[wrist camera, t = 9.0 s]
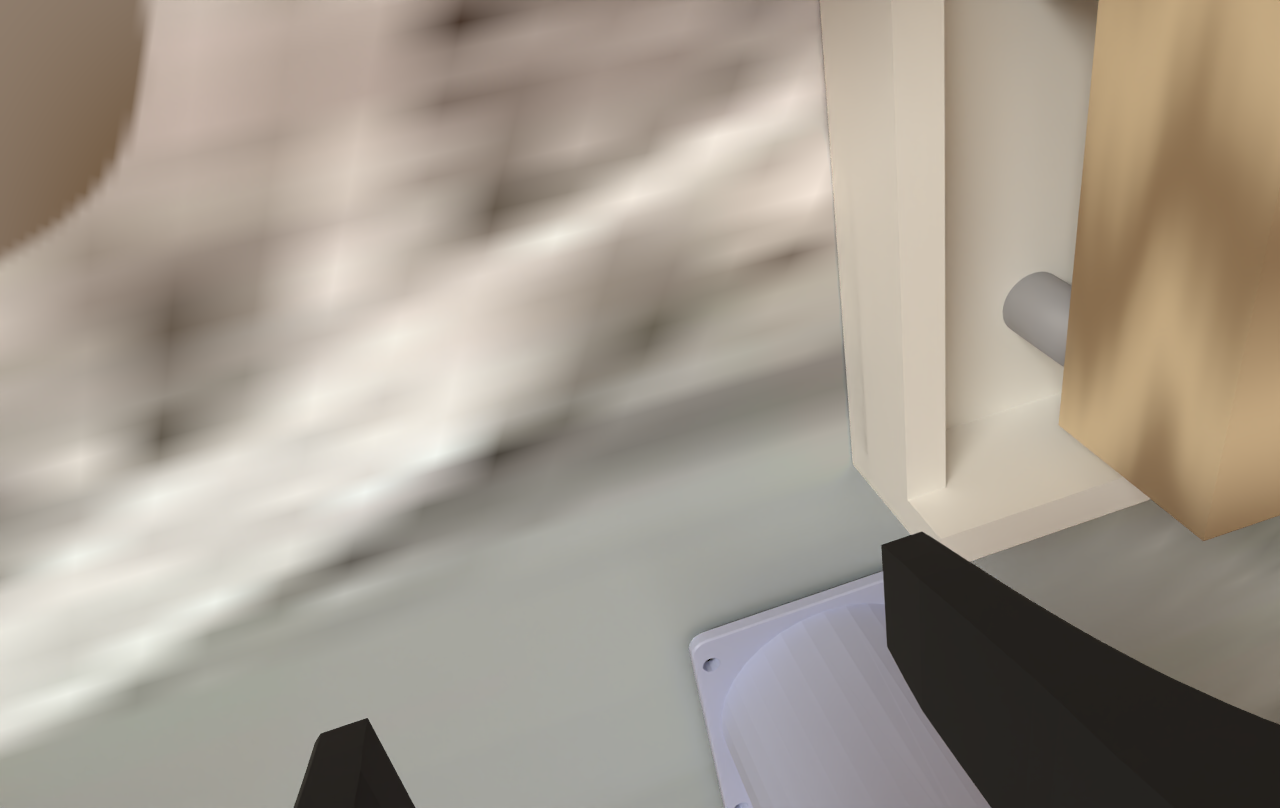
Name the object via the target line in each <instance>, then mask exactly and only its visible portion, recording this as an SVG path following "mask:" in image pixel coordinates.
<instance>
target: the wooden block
mask: <svg viewBox="0 0 1280 808" xmlns="http://www.w3.org/2000/svg"><path fill="white" fill-rule="evenodd" d="M1059 426H1060V427H1062V428H1063V429H1064V430H1065V431H1067V432H1068V433H1069V434H1070V435H1072V436H1073V437H1074V438H1075V439H1077V440H1078V441H1079V442H1080V443H1082V444H1083V445H1084V446H1085V447H1087V448H1088V449H1089V450H1090V451H1092V452H1093V453H1094V454H1095V455H1097V456H1098V457H1099V458H1100V459H1101V460H1103V461H1104V462H1105V463H1106V464H1108V465H1109V466H1110V467H1111V468H1113V469H1114V470H1115V471H1116V472H1118V473H1119V474H1120V475H1121V476H1123V477H1124V478H1125V479H1126V480H1128V481H1129V482H1130V483H1131V484H1133V485H1134V486H1135V487H1136V488H1138V489H1139V490H1140V491H1141V492H1143V493H1144V494H1145V495H1146V496H1148V497H1149V498H1150V499H1151V500H1153V501H1154V502H1155V503H1156V504H1158V505H1159V506H1160V507H1161V508H1163V509H1164V510H1165V511H1166V512H1168V513H1169V514H1170V515H1171V516H1173V517H1174V518H1175V519H1176V520H1178V521H1179V522H1180V523H1181V524H1183V525H1184V526H1185V527H1186V528H1188V529H1189V530H1190V531H1191V532H1193V533H1194V534H1195V535H1196V536H1198V537H1199V538H1200V539H1201V540H1203V541H1205V540H1208V539H1211V538H1214V537H1217V536H1220V535H1223V534H1226V533H1229V532H1232V531H1235V530H1238V529H1241V528H1244V527H1247V526H1249V525H1252V524H1255V523H1258V522H1261V521H1264V520H1267V519H1270V518H1273V517H1276V516H1279V515H1280V0H1099V2H1098V13H1097V23H1096V34H1095V44H1094V55H1093V66H1092V76H1091V87H1090V97H1089V108H1088V118H1087V129H1086V140H1085V150H1084V161H1083V171H1082V182H1081V192H1080V203H1079V214H1078V224H1077V235H1076V245H1075V256H1074V266H1073V277H1072V288H1071V298H1070V309H1069V319H1068V330H1067V340H1066V351H1065V362H1064V372H1063V383H1062V393H1061V404H1060V414H1059Z"/></svg>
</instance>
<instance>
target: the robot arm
mask: <svg viewBox="0 0 1280 808" xmlns="http://www.w3.org/2000/svg"><path fill="white" fill-rule="evenodd" d="M882 563H883V571H881V572H878V573H875V574H873V575H870V576H867V577H864V578H861V579H858V580H855V581H852V582H849V583H846V584H843V585H840V586H837V587H834V588H831V589H828V590H826V591H823V592H820V593H817V594H814V595H811V596H808V597H805V598H802V599H799V600H796V601H793V602H790V603H787V604H784V605H781V606H779V607H776V608H773V609H770V610H767V611H764V612H761V613H758V614H755V615H752V616H749V617H746V618H743V619H740V620H737V621H734V622H732V623H729V624H726V625H723V626H720V627H717V628H714V629H711V630H708V631H705V632H702V633H700V634H698V635H697V636H695V637H694V638H693V639H692V640H691V642H690V644H689V653H690V658H691V662H692V666H693V671H694V675H695V680H696V684H697V689H698V693H699V698H700V702H701V707H702V711H703V716H704V720H705V724H706V729H707V733H708V738H709V742H710V747H711V751H712V756H713V760H714V765H715V769H716V773H717V778H718V782H719V787H720V791H721V796H722V800H723V805H724V808H1280V725H1279V724H1276V723H1274V722H1271V721H1268V720H1266V719H1263V718H1261V717H1258V716H1256V715H1254V714H1251V713H1249V712H1246V711H1244V710H1241V709H1239V708H1237V707H1234V706H1232V705H1230V704H1227V703H1225V702H1223V701H1221V700H1218V699H1216V698H1214V697H1212V696H1210V695H1207V694H1205V693H1203V692H1201V691H1199V690H1196V689H1194V688H1192V687H1190V686H1188V685H1185V684H1183V683H1181V682H1179V681H1177V680H1175V679H1172V678H1170V677H1168V676H1166V675H1164V674H1162V673H1160V672H1158V671H1156V670H1154V669H1152V668H1150V667H1148V666H1146V665H1144V664H1142V663H1140V662H1138V661H1137V660H1135V659H1133V658H1131V657H1129V656H1127V655H1125V654H1123V653H1122V652H1120V651H1118V650H1116V649H1114V648H1112V647H1110V646H1108V645H1107V644H1105V643H1103V642H1101V641H1099V640H1097V639H1096V638H1094V637H1092V636H1090V635H1089V634H1087V633H1085V632H1083V631H1081V630H1080V629H1078V628H1076V627H1074V626H1073V625H1071V624H1069V623H1068V622H1066V621H1064V620H1063V619H1061V618H1059V617H1058V616H1056V615H1054V614H1052V613H1051V612H1049V611H1047V610H1046V609H1044V608H1042V607H1041V606H1039V605H1037V604H1036V603H1034V602H1032V601H1031V600H1029V599H1027V598H1026V597H1024V596H1022V595H1021V594H1019V593H1018V592H1016V591H1014V590H1013V589H1011V588H1010V587H1008V586H1006V585H1005V584H1003V583H1002V582H1000V581H999V580H997V579H995V578H994V577H992V576H991V575H989V574H988V573H986V572H984V571H983V570H981V569H980V568H978V567H977V566H975V565H974V564H972V563H971V562H969V561H967V560H966V559H964V558H963V557H961V556H960V555H958V554H957V553H955V552H954V551H952V550H951V549H949V548H948V547H946V546H945V545H943V544H941V543H940V542H938V541H937V540H935V539H934V538H932V537H931V536H929V535H927V534H925V533H924V532H919V533H916V534H913V535H910V536H907V537H904V538H901V539H898V540H895V541H892V542H889V543H886V544H883V545H882ZM711 658H713V659H711ZM709 659H711V660H710V661H707V660H709ZM294 808H415V806H414V804H413V803H412V801H411V799H410V797H409V795H408V793H407V791H406V789H405V787H404V786H403V784H402V782H401V780H400V778H399V776H398V774H397V772H396V771H395V769H394V767H393V765H392V763H391V761H390V759H389V757H388V756H387V754H386V752H385V750H384V748H383V746H382V744H381V742H380V741H379V739H378V737H377V735H376V733H375V731H374V729H373V727H372V725H371V724H370V722H369V720H368V718H366V719H363V720H360V721H357V722H354V723H351V724H348V725H345V726H342V727H339V728H336V729H333V730H330V731H327V732H324V733H321V734H320V736H319V737H318V739H317V740H316V742H315V745H314V748H313V751H312V754H311V757H310V760H309V764H308V767H307V770H306V773H305V776H304V779H303V782H302V785H301V788H300V791H299V794H298V797H297V800H296V803H295V805H294Z"/></svg>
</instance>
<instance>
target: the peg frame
mask: <svg viewBox="0 0 1280 808" xmlns="http://www.w3.org/2000/svg"><path fill="white" fill-rule="evenodd" d="M819 1H820V15H821V29H822V43H823V56H824V70H825V84H826V98H827V112H828V126H829V140H830V154H831V168H832V182H833V196H834V210H835V224H836V237H837V251H838V265H839V279H840V293H841V307H842V321H843V335H844V349H845V363H846V377H847V391H848V405H849V418H850V432H851V446H852V460H853V465H854V467H855V468H856V469H857V470H858V471H859V473H860V474H861V475H862V476H863V477H864V479H865V480H866V481H867V482H868V483H869V485H870V486H871V487H872V488H873V490H874V491H875V492H876V493H877V494H878V496H879V497H880V498H881V499H882V500H883V502H884V503H885V504H886V505H887V507H888V508H889V509H890V510H891V511H892V513H893V514H894V515H895V516H896V517H897V519H898V520H899V521H900V522H901V523H902V525H903V526H904V527H905V528H906V530H907V531H908V532H909V533H910V534H911V535H913V534H916V533H919V532H924V533H925V534H927V535H929V536H931V537H932V538H934V539H935V540H937V541H938V542H940V543H941V544H943V545H945V546H946V547H948V548H949V549H951V550H952V551H954V552H955V553H957V554H958V555H960V556H961V557H963V558H964V559H966V560H967V561H969V562H970V561H973V560H976V559H979V558H981V557H984V556H987V555H990V554H993V553H996V552H999V551H1002V550H1005V549H1008V548H1011V547H1014V546H1016V545H1019V544H1022V543H1025V542H1028V541H1031V540H1034V539H1037V538H1040V537H1043V536H1046V535H1048V534H1051V533H1054V532H1057V531H1060V530H1063V529H1066V528H1069V527H1072V526H1075V525H1078V524H1081V523H1083V522H1086V521H1089V520H1092V519H1095V518H1098V517H1101V516H1104V515H1107V514H1110V513H1113V512H1115V511H1118V510H1121V509H1124V508H1127V507H1130V506H1133V505H1136V504H1139V503H1142V502H1145V501H1148V500H1150V498H1149V497H1148V496H1146V495H1145V494H1144V493H1143V492H1141V491H1140V490H1139V489H1138V488H1136V487H1135V486H1134V485H1133V484H1131V483H1130V482H1129V481H1128V480H1126V479H1125V478H1124V477H1123V476H1121V475H1120V474H1119V473H1118V472H1116V471H1115V470H1114V469H1113V468H1111V467H1110V466H1109V465H1108V464H1106V463H1105V462H1104V461H1103V460H1101V459H1100V458H1099V457H1098V456H1097V455H1095V454H1094V453H1093V452H1092V451H1090V450H1089V449H1088V448H1087V447H1085V446H1084V445H1083V444H1082V443H1080V442H1079V441H1078V440H1077V439H1075V438H1074V437H1073V436H1072V435H1070V434H1069V433H1068V432H1067V431H1065V430H1064V429H1063V428H1062V427H1060V426H1059V414H1060V404H1061V393H1062V383H1063V372H1064V362H1065V351H1066V340H1067V330H1068V319H1069V309H1070V298H1071V288H1072V277H1073V266H1074V256H1075V245H1076V235H1077V224H1078V214H1079V203H1080V192H1081V182H1082V171H1083V161H1084V150H1085V140H1086V129H1087V118H1088V108H1089V97H1090V87H1091V76H1092V66H1093V55H1094V44H1095V34H1096V23H1097V13H1098V2H1099V0H819Z"/></svg>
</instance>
